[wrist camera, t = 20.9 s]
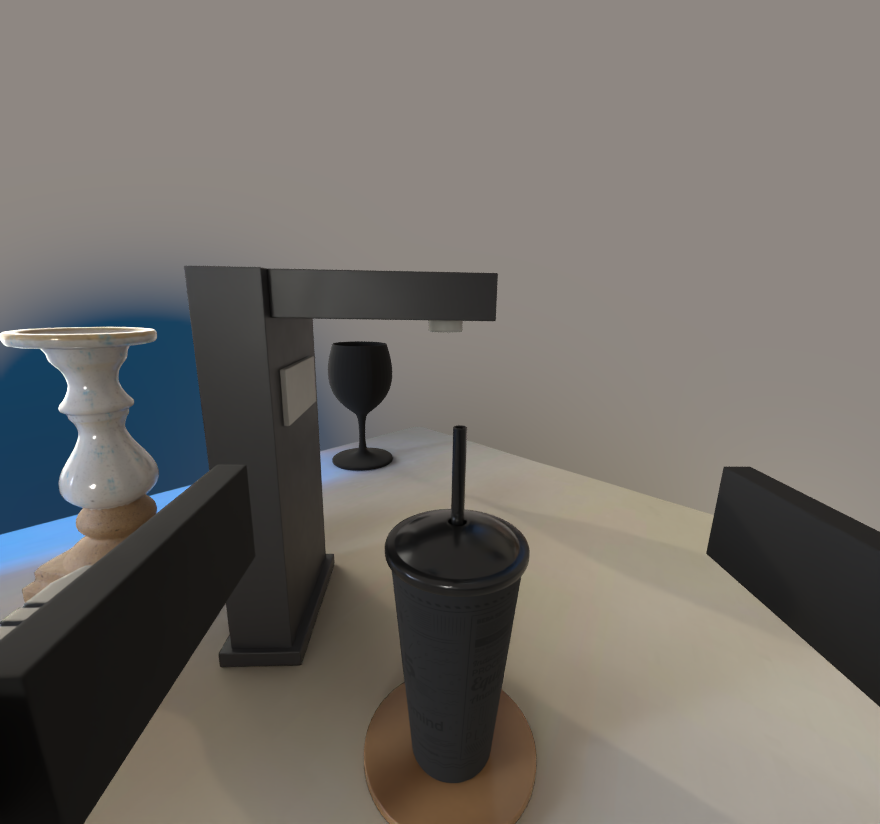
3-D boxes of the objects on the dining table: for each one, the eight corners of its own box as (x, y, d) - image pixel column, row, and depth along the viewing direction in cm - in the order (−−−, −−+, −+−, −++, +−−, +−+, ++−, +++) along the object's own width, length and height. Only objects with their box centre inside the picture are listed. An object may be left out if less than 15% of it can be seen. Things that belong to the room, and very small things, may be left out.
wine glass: (364, 475, 68) (361, 348, 63) (319, 461, 73) (312, 343, 68) (404, 457, 76) (404, 343, 71) (361, 445, 81) (358, 339, 77)
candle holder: (217, 553, 46) (189, 328, 40) (129, 626, 36) (74, 336, 30) (130, 542, 48) (91, 325, 42) (21, 608, 38) (-51, 332, 32)
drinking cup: (454, 668, 31) (462, 402, 26) (540, 748, 26) (570, 431, 21) (364, 733, 27) (353, 423, 22) (445, 849, 21) (455, 467, 16)
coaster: (327, 762, 25) (327, 754, 25) (435, 653, 33) (435, 647, 33) (474, 910, 19) (475, 901, 19) (563, 734, 27) (564, 726, 27)
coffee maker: (219, 667, 32) (165, 264, 25) (276, 564, 44) (251, 277, 37) (482, 661, 33) (502, 271, 26) (465, 561, 45) (475, 281, 38)
